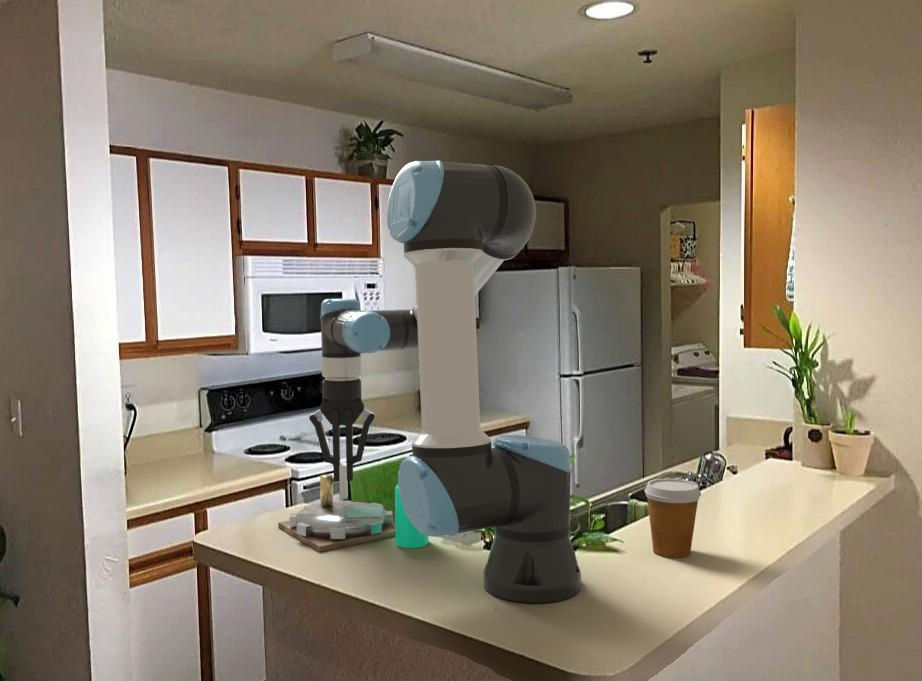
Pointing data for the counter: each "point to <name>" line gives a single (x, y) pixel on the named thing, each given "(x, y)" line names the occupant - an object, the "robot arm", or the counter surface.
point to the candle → (406, 527)
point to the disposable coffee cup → (672, 515)
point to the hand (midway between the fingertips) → (343, 497)
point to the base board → (329, 544)
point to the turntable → (339, 516)
